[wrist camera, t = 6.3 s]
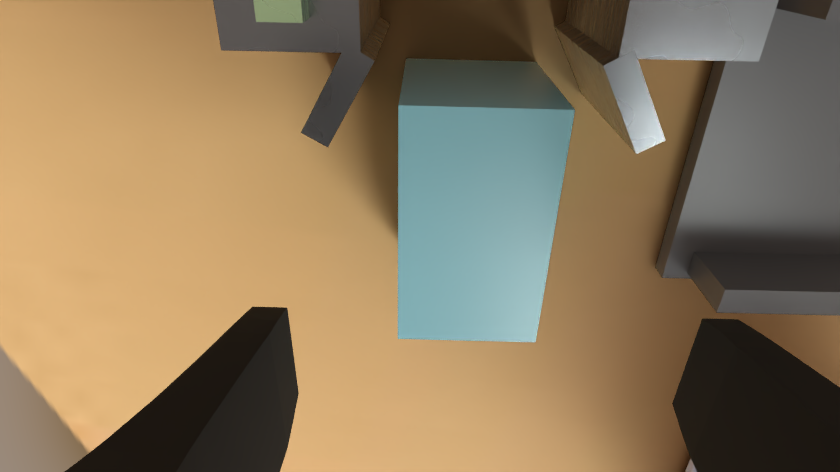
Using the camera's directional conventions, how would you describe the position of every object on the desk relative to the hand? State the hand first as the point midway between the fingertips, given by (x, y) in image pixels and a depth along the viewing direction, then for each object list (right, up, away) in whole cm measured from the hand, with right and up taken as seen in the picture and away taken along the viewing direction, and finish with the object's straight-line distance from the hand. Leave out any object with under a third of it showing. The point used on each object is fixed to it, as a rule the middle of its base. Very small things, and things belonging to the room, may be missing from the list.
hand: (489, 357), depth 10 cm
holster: (+10, +5, +6) cm, 13 cm away
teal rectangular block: (0, +4, +6) cm, 8 cm away
